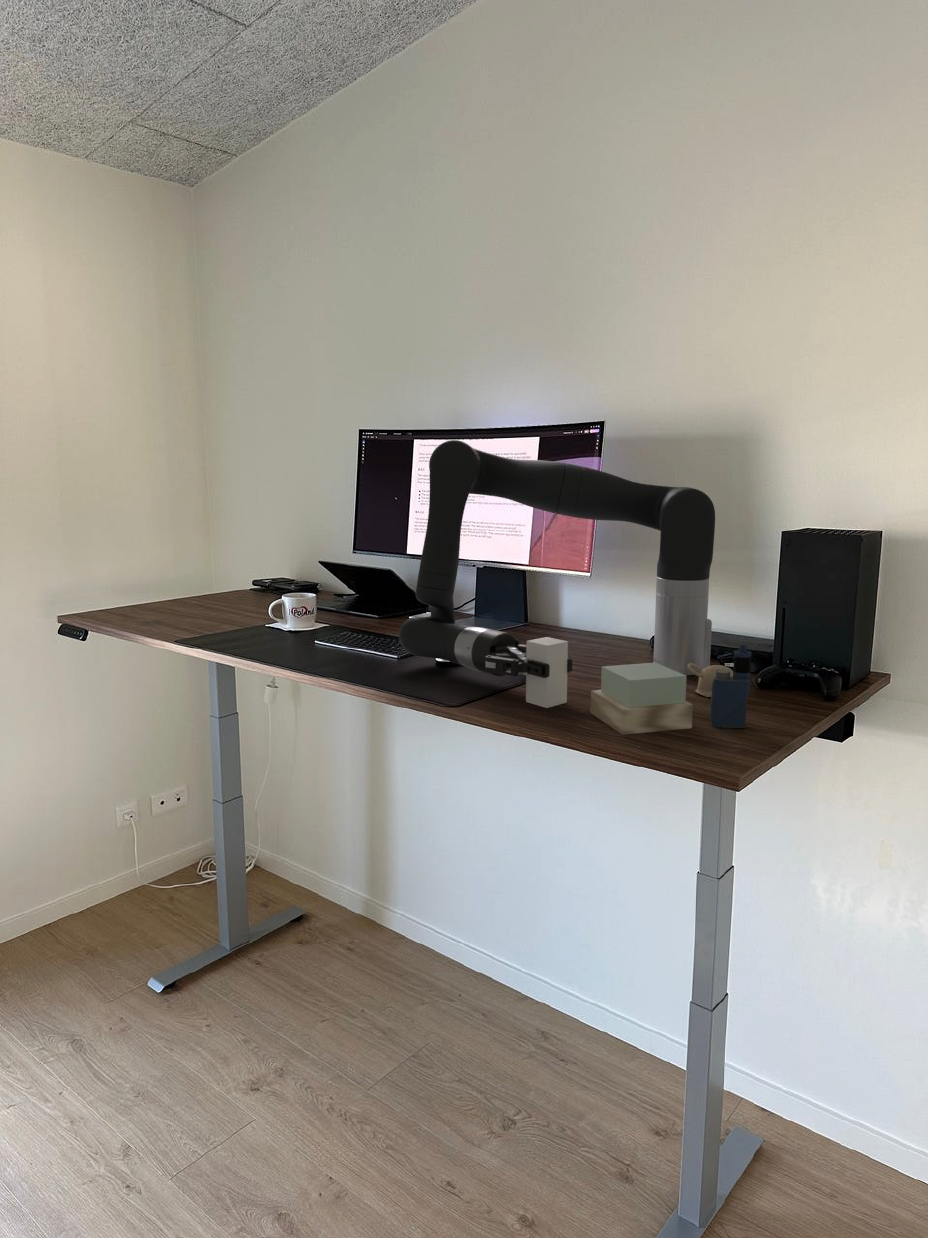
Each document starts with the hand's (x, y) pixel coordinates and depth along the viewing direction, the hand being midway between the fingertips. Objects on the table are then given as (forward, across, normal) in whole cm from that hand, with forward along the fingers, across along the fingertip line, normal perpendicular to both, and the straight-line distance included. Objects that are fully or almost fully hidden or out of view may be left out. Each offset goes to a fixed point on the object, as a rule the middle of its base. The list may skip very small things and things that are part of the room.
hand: (559, 668), depth 133 cm
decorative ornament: (+12, +24, +6) cm, 27 cm away
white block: (-3, 0, +6) cm, 7 cm away
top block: (+13, +4, +2) cm, 14 cm away
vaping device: (+23, +11, +6) cm, 27 cm away
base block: (+13, +4, +6) cm, 15 cm away
